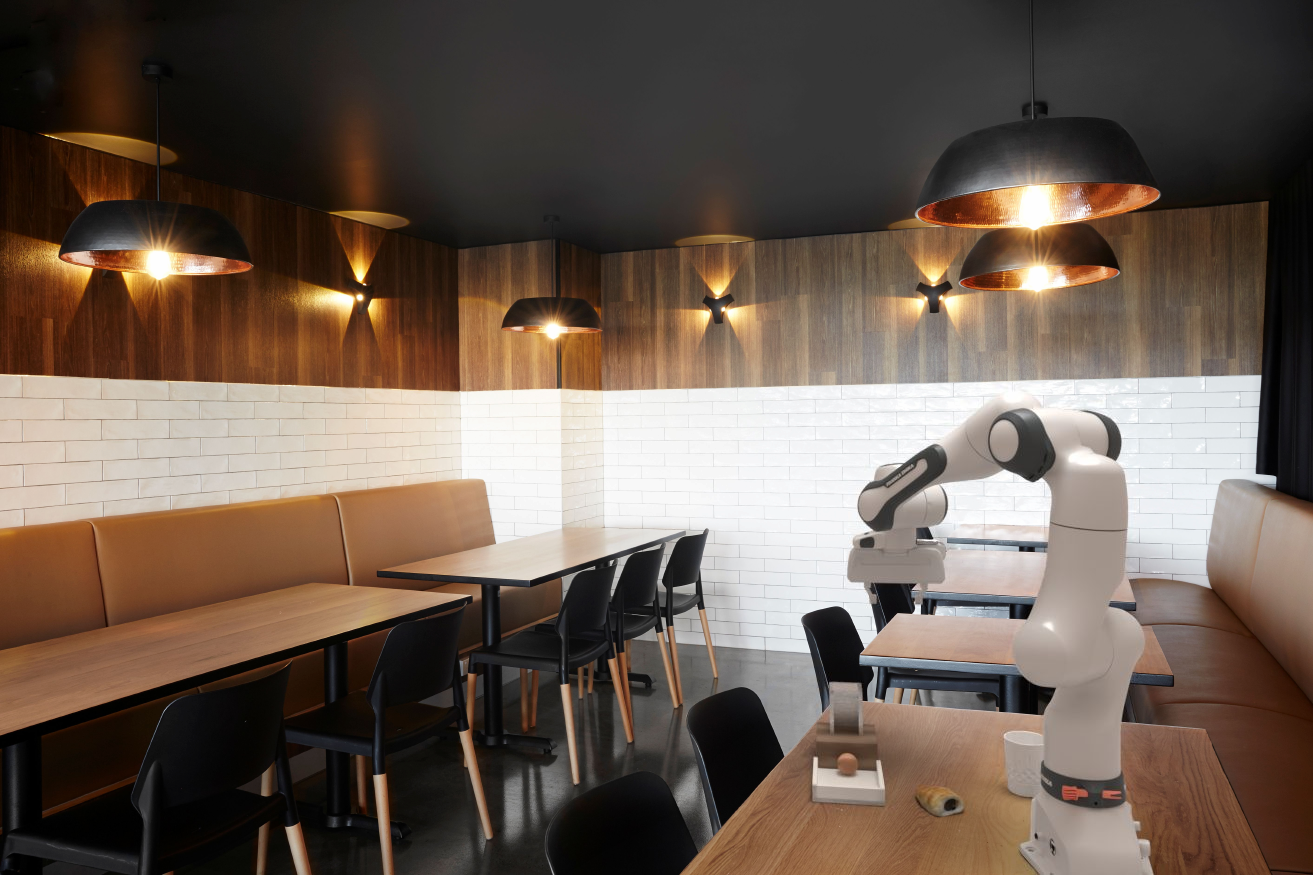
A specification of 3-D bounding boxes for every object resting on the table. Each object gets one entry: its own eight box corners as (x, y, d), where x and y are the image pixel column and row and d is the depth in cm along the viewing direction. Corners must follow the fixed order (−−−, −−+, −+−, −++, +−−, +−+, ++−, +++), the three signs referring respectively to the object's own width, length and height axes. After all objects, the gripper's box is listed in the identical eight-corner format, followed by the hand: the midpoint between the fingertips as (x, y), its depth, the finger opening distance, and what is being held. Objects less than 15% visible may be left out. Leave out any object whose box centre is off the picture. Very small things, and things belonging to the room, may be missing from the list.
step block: (878, 774, 176) (877, 744, 176) (816, 770, 178) (816, 741, 178) (875, 752, 187) (874, 724, 187) (817, 749, 190) (816, 721, 190)
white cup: (1056, 789, 167) (1055, 736, 167) (1041, 802, 161) (1040, 747, 161) (1014, 779, 172) (1013, 727, 172) (997, 791, 166) (996, 738, 166)
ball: (858, 767, 171) (857, 749, 174) (836, 766, 172) (836, 748, 175) (858, 779, 173) (857, 760, 176) (837, 778, 174) (837, 759, 177)
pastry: (905, 799, 164) (905, 778, 164) (936, 794, 166) (936, 773, 166) (937, 819, 155) (936, 797, 155) (969, 813, 158) (969, 792, 158)
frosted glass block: (863, 734, 181) (862, 690, 181) (830, 733, 182) (829, 689, 182) (861, 725, 187) (861, 682, 187) (830, 724, 188) (829, 681, 188)
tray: (885, 805, 161) (885, 789, 161) (812, 801, 163) (812, 785, 163) (880, 775, 175) (880, 760, 175) (813, 771, 178) (813, 756, 178)
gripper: (943, 537, 190) (944, 601, 190) (846, 536, 194) (847, 599, 194) (947, 541, 184) (948, 607, 184) (846, 540, 188) (847, 605, 188)
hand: (895, 603), depth 189 cm, fingers open, 8 cm apart
